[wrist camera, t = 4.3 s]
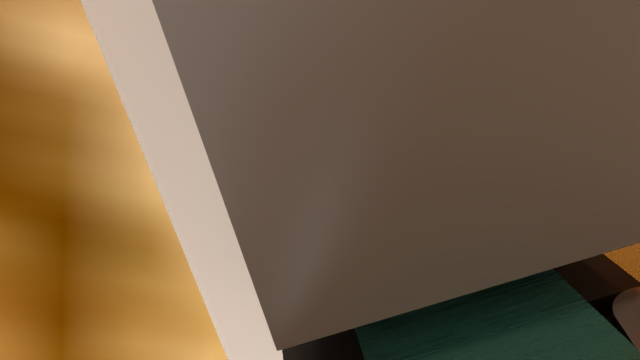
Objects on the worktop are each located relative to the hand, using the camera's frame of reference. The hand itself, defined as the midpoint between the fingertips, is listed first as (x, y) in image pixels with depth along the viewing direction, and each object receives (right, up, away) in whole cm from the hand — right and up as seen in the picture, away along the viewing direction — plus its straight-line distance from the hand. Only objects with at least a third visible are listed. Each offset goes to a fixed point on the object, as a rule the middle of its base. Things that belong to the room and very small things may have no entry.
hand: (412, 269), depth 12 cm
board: (0, -1, +3) cm, 3 cm away
